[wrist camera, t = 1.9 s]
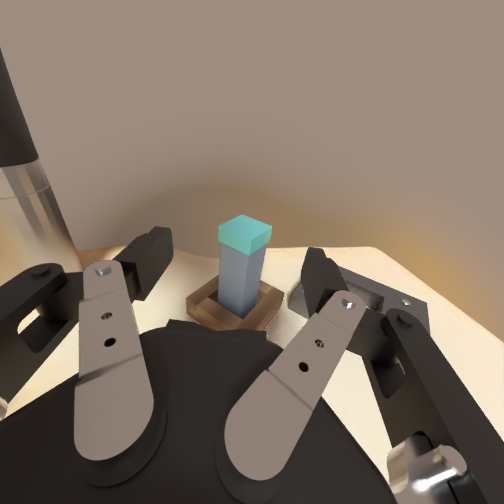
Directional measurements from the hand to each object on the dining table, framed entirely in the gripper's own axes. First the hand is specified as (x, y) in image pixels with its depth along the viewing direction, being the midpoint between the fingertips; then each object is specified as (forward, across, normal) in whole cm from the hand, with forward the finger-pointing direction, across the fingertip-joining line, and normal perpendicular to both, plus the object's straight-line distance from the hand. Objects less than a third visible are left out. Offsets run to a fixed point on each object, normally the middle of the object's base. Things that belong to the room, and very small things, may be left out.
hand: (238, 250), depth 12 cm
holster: (+11, 0, +18) cm, 21 cm away
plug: (+11, 0, +18) cm, 21 cm away
